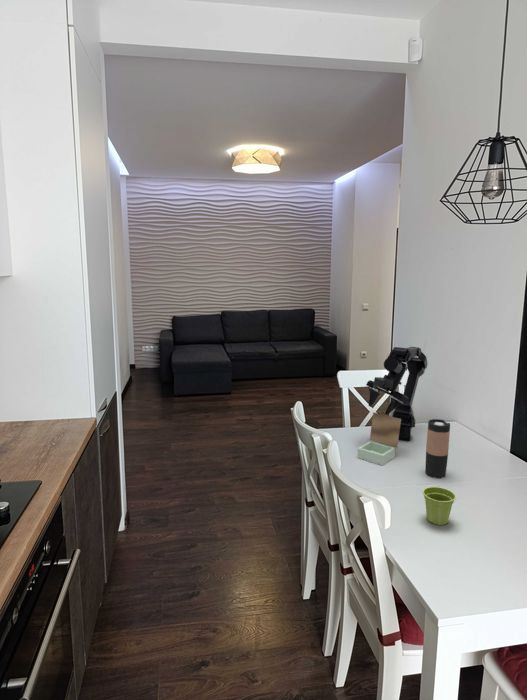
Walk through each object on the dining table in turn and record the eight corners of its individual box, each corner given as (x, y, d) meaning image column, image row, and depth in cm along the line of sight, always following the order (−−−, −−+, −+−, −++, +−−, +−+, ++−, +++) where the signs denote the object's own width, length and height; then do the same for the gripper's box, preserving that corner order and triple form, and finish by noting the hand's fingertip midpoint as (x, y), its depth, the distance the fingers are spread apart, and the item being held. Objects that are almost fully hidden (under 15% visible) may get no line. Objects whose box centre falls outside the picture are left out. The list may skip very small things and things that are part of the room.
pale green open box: (370, 450, 196) (370, 441, 195) (394, 457, 188) (395, 448, 188) (357, 457, 188) (357, 448, 188) (382, 465, 181) (382, 455, 180)
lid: (369, 440, 195) (370, 439, 196) (396, 447, 188) (397, 447, 188) (373, 412, 195) (374, 412, 195) (400, 419, 187) (401, 418, 187)
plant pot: (417, 511, 148) (418, 486, 146) (447, 512, 148) (449, 486, 146) (426, 528, 139) (428, 501, 137) (458, 528, 139) (460, 501, 137)
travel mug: (423, 476, 172) (427, 424, 168) (425, 468, 179) (428, 418, 175) (446, 480, 169) (450, 427, 165) (446, 471, 176) (450, 420, 172)
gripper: (367, 363, 196) (350, 396, 195) (401, 376, 181) (383, 412, 180) (382, 372, 202) (365, 404, 202) (416, 386, 187) (399, 421, 187)
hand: (377, 410), depth 193 cm, fingers open, 9 cm apart
